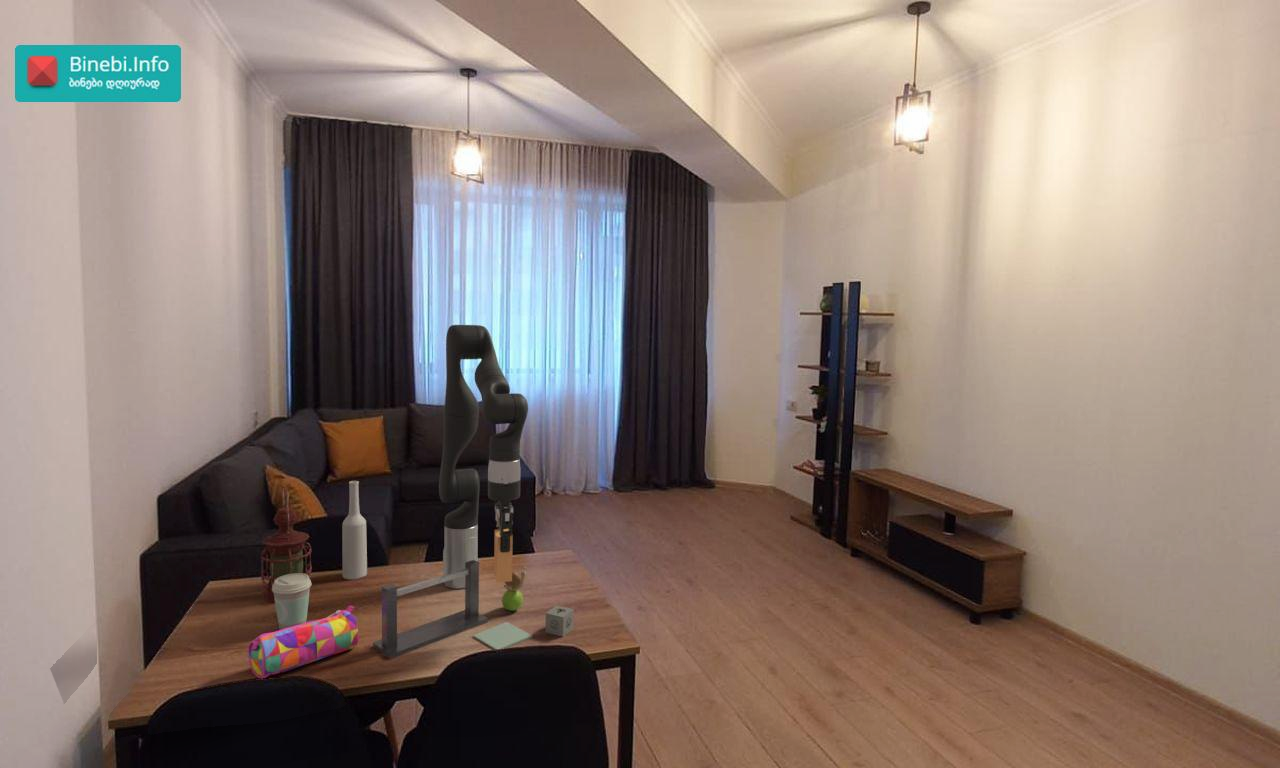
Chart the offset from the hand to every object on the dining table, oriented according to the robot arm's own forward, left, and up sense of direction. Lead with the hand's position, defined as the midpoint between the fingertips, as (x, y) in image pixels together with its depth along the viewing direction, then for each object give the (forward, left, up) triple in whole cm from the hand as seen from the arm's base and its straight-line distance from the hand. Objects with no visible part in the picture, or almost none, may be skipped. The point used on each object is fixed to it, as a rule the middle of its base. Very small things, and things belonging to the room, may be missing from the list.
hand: (503, 547), depth 157 cm
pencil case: (-21, -37, -23) cm, 48 cm away
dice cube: (+7, +12, -23) cm, 26 cm away
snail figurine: (-10, +11, -22) cm, 27 cm away
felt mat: (0, 0, -22) cm, 22 cm away
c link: (0, 0, -7) cm, 7 cm away
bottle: (-61, -8, -22) cm, 65 cm away
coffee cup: (-40, -33, -22) cm, 57 cm away
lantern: (-60, -27, -22) cm, 69 cm away
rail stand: (-13, -11, -22) cm, 28 cm away
